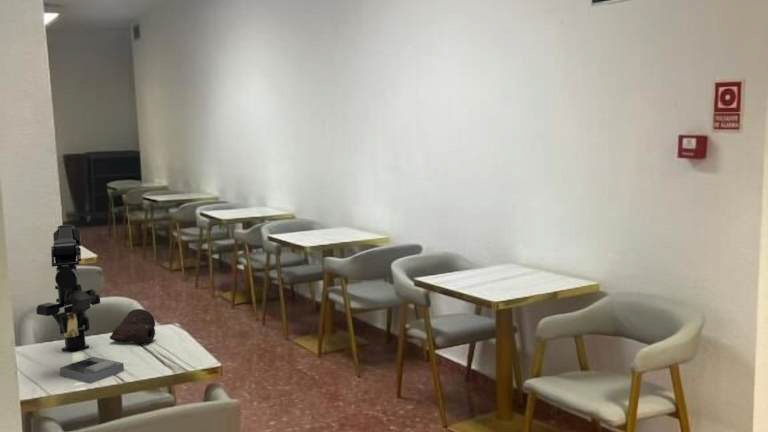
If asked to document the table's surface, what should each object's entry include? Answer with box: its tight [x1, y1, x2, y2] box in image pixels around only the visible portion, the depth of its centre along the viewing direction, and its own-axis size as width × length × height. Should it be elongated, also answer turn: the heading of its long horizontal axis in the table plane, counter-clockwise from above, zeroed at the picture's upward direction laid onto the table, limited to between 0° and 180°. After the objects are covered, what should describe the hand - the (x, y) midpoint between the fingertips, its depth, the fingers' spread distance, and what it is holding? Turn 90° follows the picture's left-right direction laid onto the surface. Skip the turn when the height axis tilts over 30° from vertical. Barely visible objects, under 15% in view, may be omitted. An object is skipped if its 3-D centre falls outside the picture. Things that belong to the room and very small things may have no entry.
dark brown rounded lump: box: [109, 308, 156, 345], centre depth 259 cm, size 10×15×15 cm
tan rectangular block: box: [64, 312, 78, 338], centre depth 228 cm, size 4×4×7 cm
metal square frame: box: [59, 356, 125, 384], centre depth 224 cm, size 14×12×3 cm
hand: (71, 331), depth 228 cm, fingers closed on tan rectangular block, 4 cm apart
